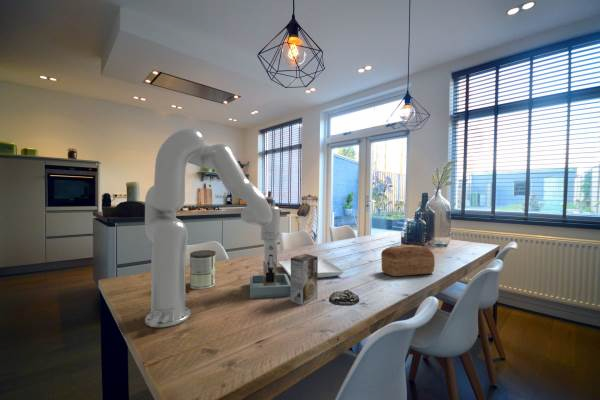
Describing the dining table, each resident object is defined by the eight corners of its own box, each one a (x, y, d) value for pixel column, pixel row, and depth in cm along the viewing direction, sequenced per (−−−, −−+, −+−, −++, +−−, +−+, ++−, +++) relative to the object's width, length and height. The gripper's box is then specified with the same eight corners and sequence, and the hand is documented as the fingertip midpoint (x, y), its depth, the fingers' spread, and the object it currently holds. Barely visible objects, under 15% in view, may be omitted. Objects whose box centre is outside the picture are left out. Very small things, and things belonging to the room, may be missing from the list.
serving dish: (291, 296, 101) (291, 285, 101) (249, 298, 98) (249, 287, 98) (286, 282, 116) (286, 273, 116) (249, 284, 113) (250, 275, 113)
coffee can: (187, 284, 113) (187, 251, 112) (210, 279, 119) (211, 249, 119) (193, 291, 104) (193, 256, 104) (218, 286, 110) (218, 253, 110)
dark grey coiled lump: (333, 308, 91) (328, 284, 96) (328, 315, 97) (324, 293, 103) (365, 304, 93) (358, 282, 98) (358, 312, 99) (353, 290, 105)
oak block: (276, 285, 105) (276, 263, 105) (263, 286, 104) (264, 264, 104) (275, 282, 110) (275, 260, 110) (263, 282, 109) (263, 261, 109)
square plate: (277, 267, 142) (277, 260, 142) (323, 264, 151) (323, 257, 151) (290, 283, 117) (290, 274, 117) (345, 278, 125) (345, 270, 125)
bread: (377, 272, 136) (377, 244, 135) (420, 268, 144) (421, 242, 144) (391, 279, 124) (392, 249, 124) (438, 274, 132) (438, 246, 132)
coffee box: (304, 294, 103) (305, 253, 103) (317, 298, 99) (318, 256, 99) (289, 300, 96) (290, 257, 96) (303, 305, 92) (303, 260, 92)
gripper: (281, 239, 99) (280, 286, 99) (277, 233, 116) (276, 273, 116) (261, 239, 98) (261, 287, 98) (260, 233, 114) (259, 274, 114)
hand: (269, 279), depth 107 cm, fingers closed on oak block, 4 cm apart
